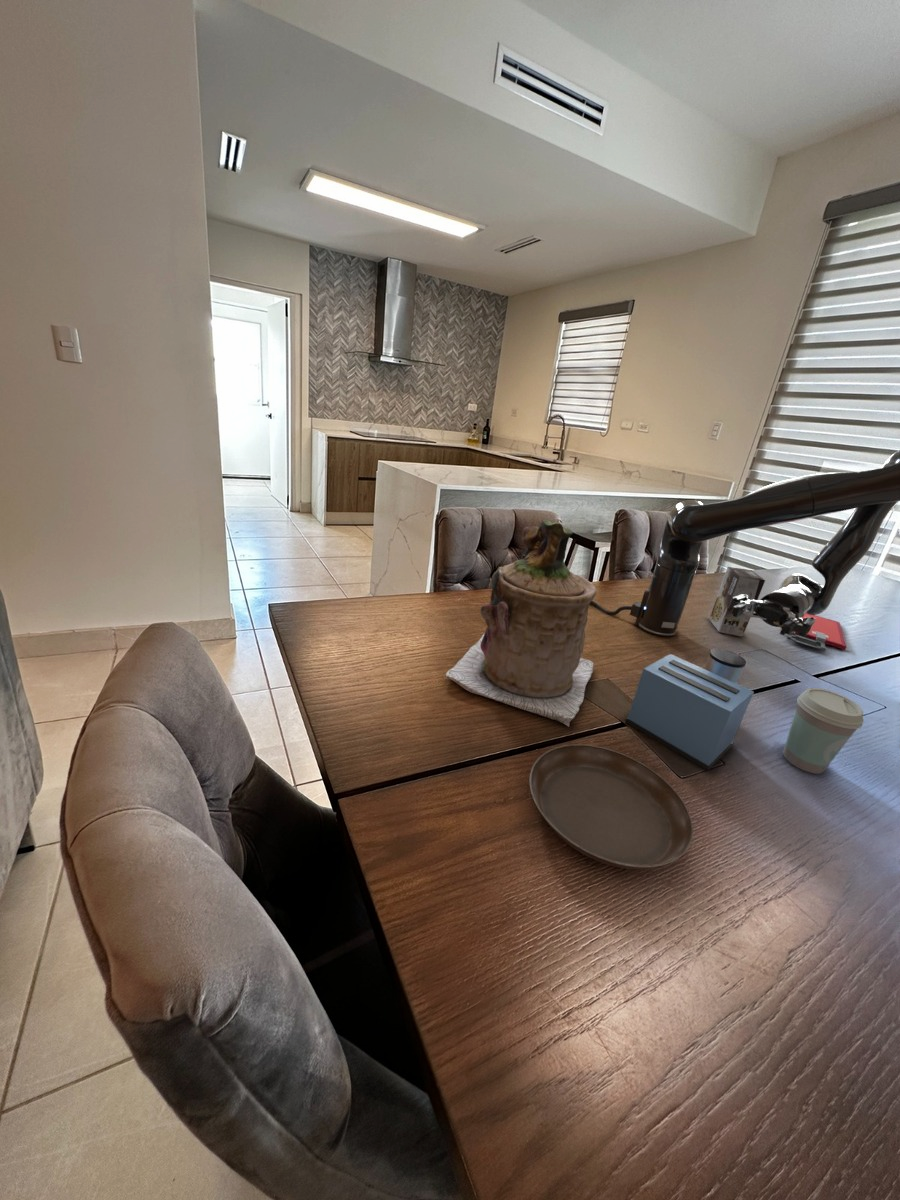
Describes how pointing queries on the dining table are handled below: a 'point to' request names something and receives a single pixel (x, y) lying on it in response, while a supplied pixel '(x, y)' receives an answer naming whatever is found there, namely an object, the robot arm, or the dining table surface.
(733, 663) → the canister
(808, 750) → the coffee cup
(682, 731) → the toaster
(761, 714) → the dining table surface
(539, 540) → the cookie jar
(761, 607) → the robot arm
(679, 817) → the plant saucer
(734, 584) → the coffee box
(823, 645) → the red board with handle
